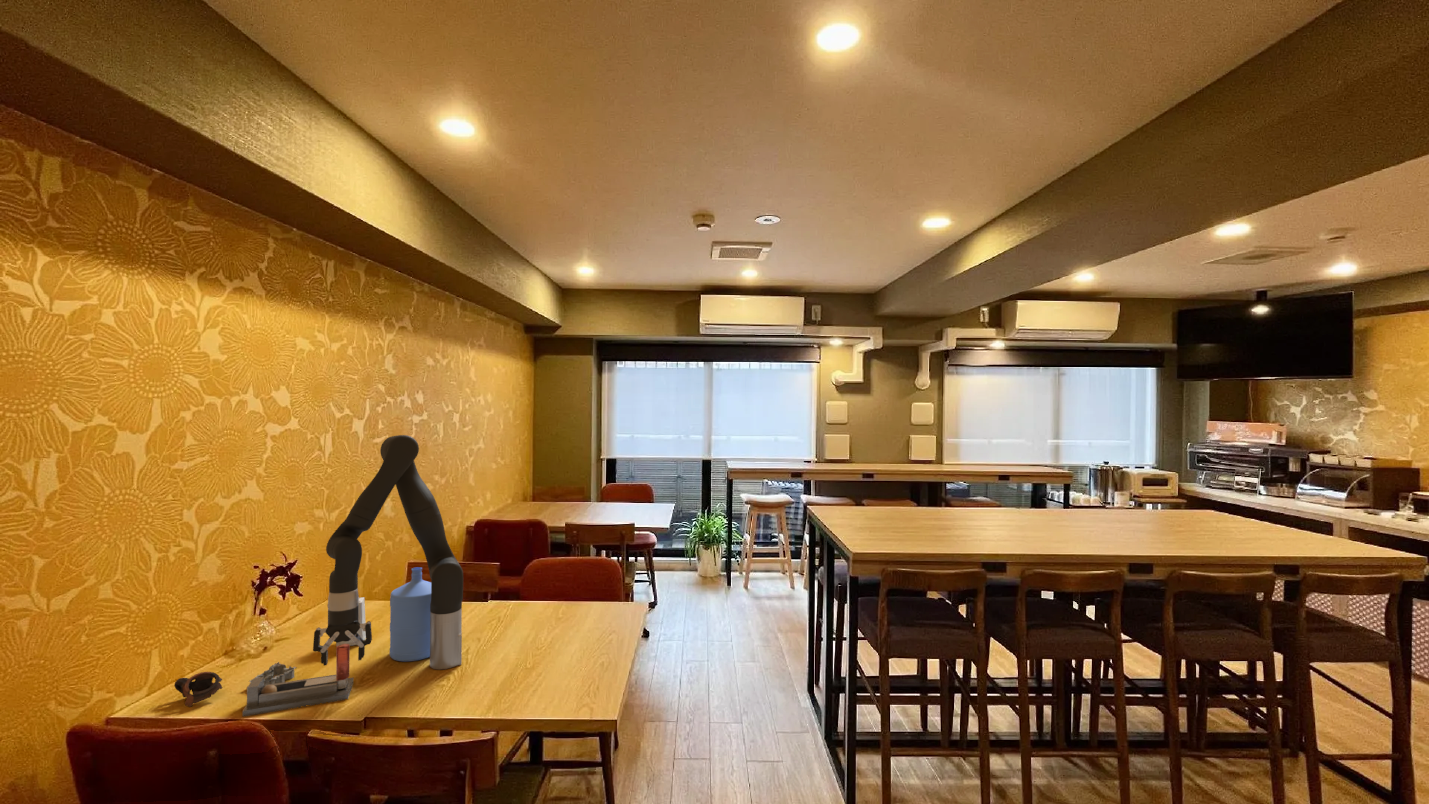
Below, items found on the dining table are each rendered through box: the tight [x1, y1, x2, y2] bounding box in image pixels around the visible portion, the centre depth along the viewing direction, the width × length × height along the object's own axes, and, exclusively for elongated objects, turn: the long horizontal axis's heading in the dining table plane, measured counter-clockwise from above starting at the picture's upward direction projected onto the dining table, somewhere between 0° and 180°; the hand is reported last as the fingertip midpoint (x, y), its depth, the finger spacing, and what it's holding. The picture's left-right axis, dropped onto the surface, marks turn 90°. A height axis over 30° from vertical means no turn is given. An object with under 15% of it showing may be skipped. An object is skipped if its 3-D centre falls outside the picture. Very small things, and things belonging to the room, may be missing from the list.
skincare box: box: [335, 597, 366, 648], centre depth 208 cm, size 8×6×15 cm
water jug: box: [389, 566, 431, 663], centre depth 201 cm, size 16×16×28 cm
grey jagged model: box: [249, 661, 297, 687], centre depth 179 cm, size 11×8×4 cm
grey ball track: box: [242, 674, 355, 717], centre depth 169 cm, size 24×11×6 cm, turn 114°
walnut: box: [261, 685, 277, 694], centre depth 166 cm, size 4×4×4 cm
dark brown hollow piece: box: [173, 671, 223, 708], centre depth 168 cm, size 12×10×8 cm
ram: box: [304, 644, 351, 689], centre depth 172 cm, size 11×4×11 cm, turn 114°
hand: (342, 661), depth 173 cm, fingers open, 8 cm apart
